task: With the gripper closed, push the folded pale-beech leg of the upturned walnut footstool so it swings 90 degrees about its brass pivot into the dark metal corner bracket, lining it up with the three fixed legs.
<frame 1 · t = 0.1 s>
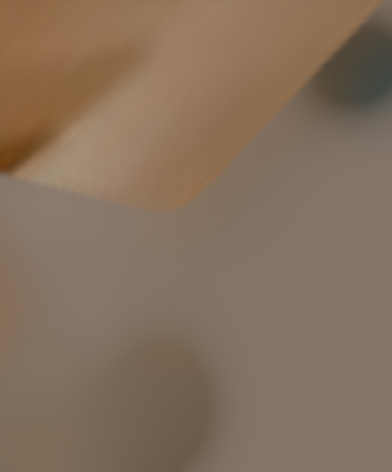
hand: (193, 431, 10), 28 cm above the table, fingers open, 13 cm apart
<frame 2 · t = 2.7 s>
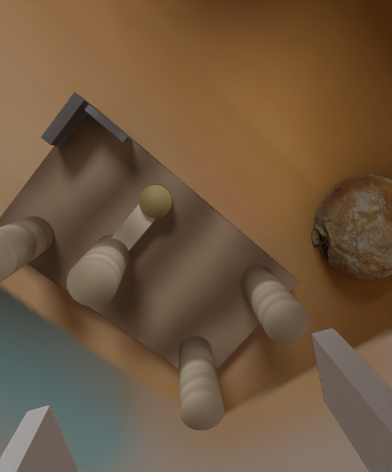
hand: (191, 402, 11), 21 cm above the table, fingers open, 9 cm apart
stool seat: (152, 250, 32), on the table
bread roll: (358, 220, 33), on the table
hinged leg: (127, 237, 24), point 7 cm above the table, hinge at 90.0°
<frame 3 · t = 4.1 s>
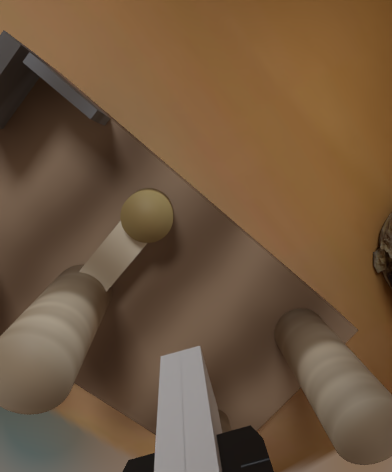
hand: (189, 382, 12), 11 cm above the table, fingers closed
stool seat: (145, 281, 22), on the table
hinged leg: (99, 278, 15), point 7 cm above the table, hinge at 90.0°
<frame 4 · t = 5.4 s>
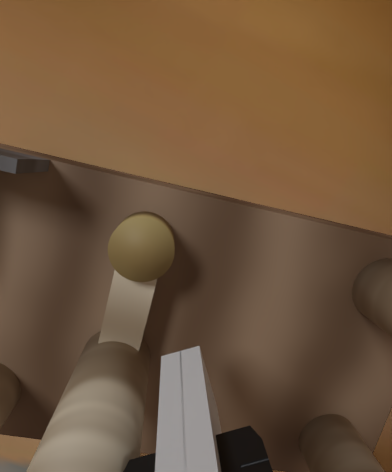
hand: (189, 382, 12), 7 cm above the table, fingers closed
stool seat: (184, 311, 19), on the table
hinged leg: (116, 349, 11), point 7 cm above the table, hinge at 88.4°, touching gripper
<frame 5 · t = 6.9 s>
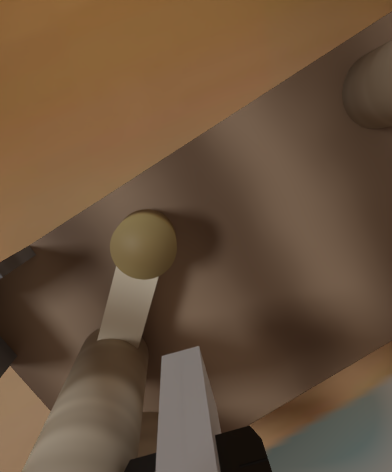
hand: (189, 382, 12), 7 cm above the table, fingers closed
stool seat: (239, 262, 19), on the table
hinged leg: (116, 345, 11), point 7 cm above the table, hinge at 41.6°, touching gripper
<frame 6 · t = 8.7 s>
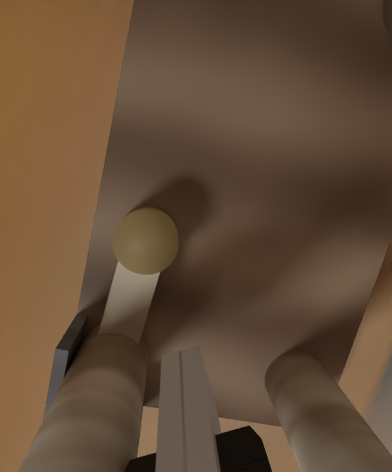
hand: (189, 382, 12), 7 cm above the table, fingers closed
stool seat: (245, 186, 18), on the table
hinged leg: (118, 339, 12), point 7 cm above the table, hinge at -3.6°, touching gripper
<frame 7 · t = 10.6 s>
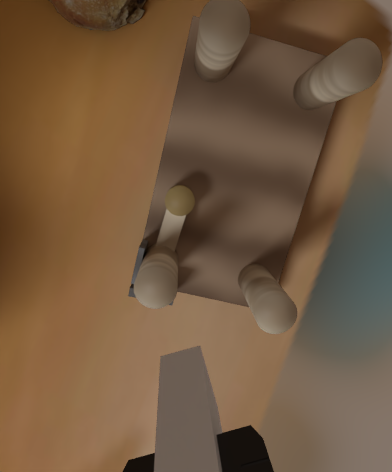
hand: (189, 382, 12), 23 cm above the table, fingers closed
stool seat: (230, 177, 33), on the table
hinged leg: (168, 240, 27), point 7 cm above the table, hinge at -3.6°
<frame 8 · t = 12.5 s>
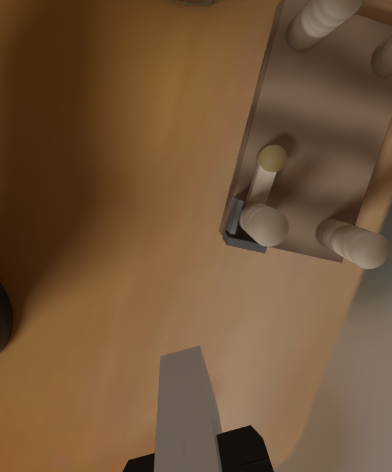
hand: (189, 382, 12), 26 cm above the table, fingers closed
stool seat: (305, 142, 37), on the table
hinged leg: (268, 191, 30), point 7 cm above the table, hinge at -3.6°
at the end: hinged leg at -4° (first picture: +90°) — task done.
